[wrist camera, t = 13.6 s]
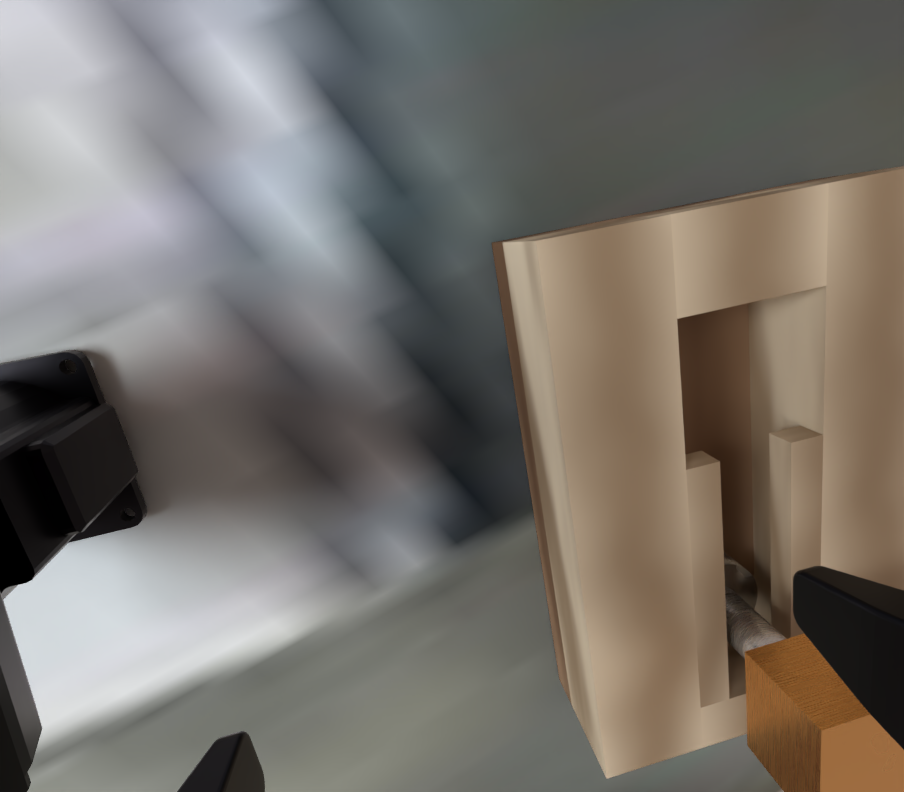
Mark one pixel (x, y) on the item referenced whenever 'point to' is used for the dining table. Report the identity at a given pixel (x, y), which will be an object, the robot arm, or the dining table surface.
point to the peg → (804, 707)
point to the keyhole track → (705, 436)
